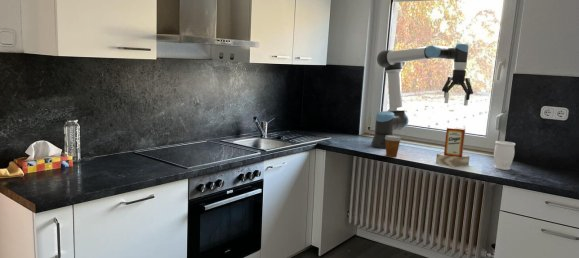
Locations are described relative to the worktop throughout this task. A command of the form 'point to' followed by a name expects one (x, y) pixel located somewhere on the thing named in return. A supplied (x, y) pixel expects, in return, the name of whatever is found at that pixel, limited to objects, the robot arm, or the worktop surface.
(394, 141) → the disposable coffee cup
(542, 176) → the worktop surface
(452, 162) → the plinth
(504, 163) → the jar
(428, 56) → the robot arm
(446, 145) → the baking soda box
